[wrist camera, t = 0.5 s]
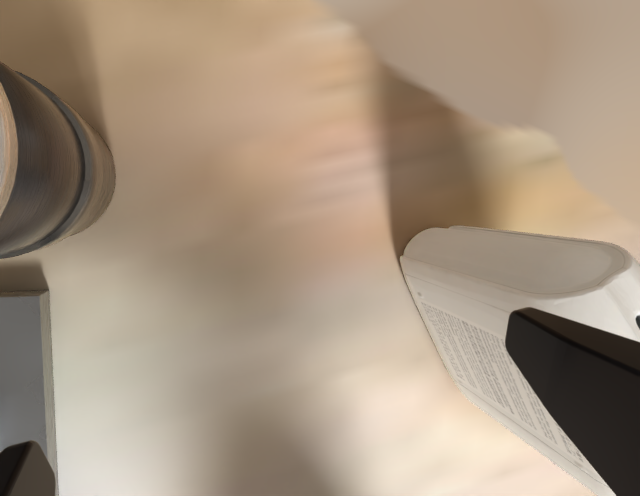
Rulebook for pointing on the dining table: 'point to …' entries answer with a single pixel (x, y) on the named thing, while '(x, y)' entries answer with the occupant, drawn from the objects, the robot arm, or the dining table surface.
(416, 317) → the dining table surface
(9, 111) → the lens
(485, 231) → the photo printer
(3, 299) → the lens mount
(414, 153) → the dining table surface
